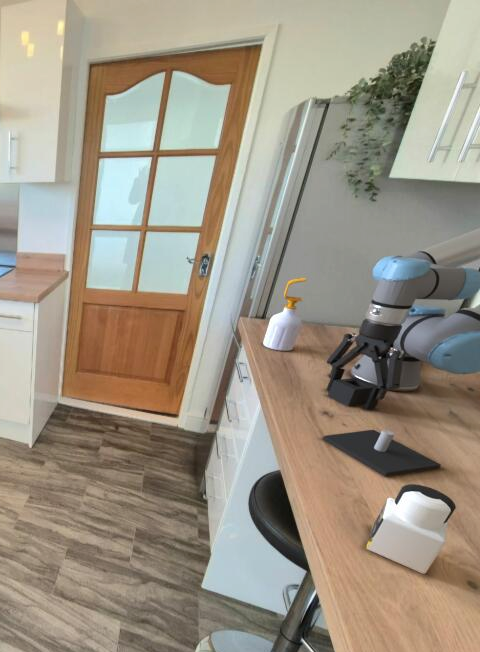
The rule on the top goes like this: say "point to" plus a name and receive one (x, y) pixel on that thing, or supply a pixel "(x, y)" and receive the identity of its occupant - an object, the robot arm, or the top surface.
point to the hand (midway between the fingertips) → (349, 398)
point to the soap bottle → (284, 324)
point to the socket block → (351, 391)
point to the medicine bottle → (412, 527)
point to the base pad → (381, 452)
